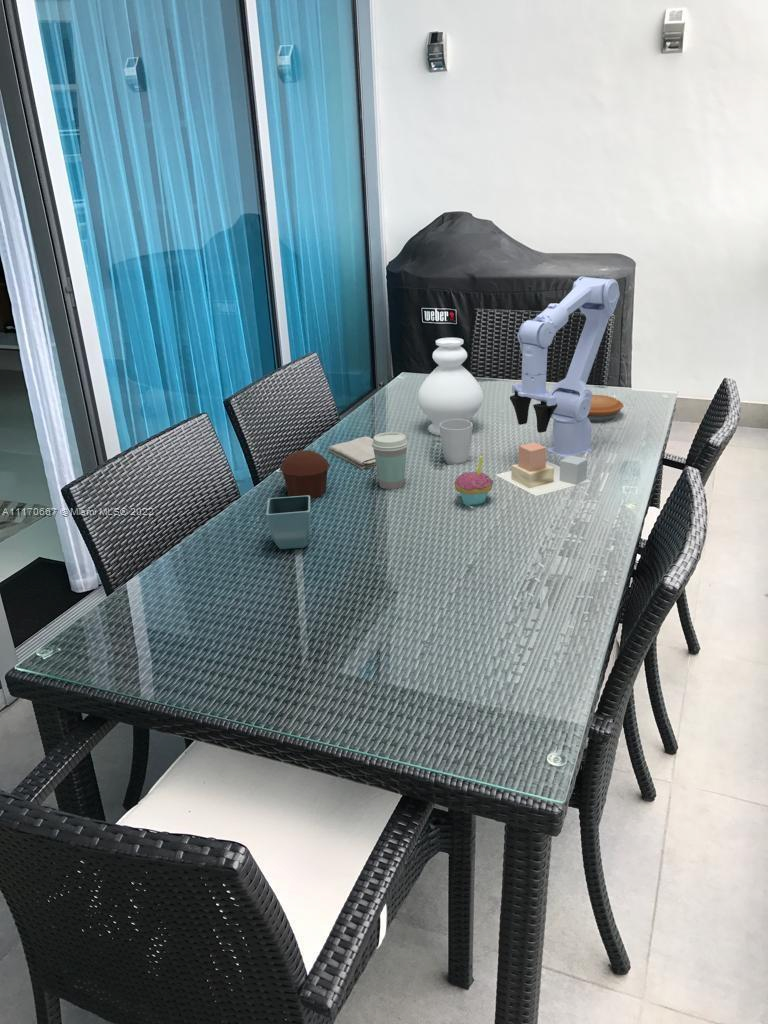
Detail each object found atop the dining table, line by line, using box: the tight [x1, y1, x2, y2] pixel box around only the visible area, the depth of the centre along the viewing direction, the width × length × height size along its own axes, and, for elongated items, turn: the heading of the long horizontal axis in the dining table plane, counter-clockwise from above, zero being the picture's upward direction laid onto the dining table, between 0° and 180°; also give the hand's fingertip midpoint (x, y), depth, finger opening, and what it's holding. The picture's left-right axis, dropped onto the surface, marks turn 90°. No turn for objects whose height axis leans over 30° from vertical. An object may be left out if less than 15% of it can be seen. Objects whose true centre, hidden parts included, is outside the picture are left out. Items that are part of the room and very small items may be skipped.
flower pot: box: [265, 495, 311, 550], centre depth 180 cm, size 9×9×9 cm
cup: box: [440, 419, 473, 466], centre depth 219 cm, size 8×8×10 cm
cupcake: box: [454, 453, 494, 507], centre depth 195 cm, size 9×8×12 cm
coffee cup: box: [372, 431, 409, 490], centre depth 207 cm, size 8×9×12 cm
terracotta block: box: [517, 441, 547, 472], centre depth 204 cm, size 4×4×5 cm
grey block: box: [559, 455, 588, 486], centre depth 204 cm, size 4×4×5 cm
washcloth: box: [328, 436, 377, 470], centre depth 228 cm, size 12×18×3 cm, turn 34°
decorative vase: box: [417, 337, 484, 437], centre depth 240 cm, size 18×18×25 cm
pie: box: [587, 394, 624, 423], centre depth 250 cm, size 16×16×5 cm
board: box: [495, 461, 591, 497], centre depth 208 cm, size 16×16×1 cm
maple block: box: [511, 463, 554, 488], centre depth 205 cm, size 7×7×4 cm
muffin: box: [279, 449, 331, 501], centre depth 205 cm, size 12×11×10 cm
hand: (532, 427), depth 211 cm, fingers open, 7 cm apart
